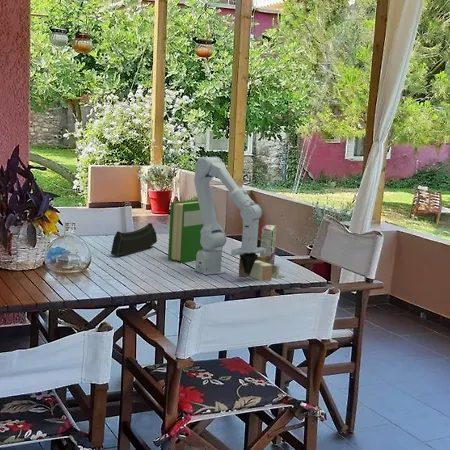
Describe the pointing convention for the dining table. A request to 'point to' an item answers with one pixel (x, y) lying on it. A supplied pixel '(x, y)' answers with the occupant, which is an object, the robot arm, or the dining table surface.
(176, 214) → the hardback book
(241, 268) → the shelf wall
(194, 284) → the dining table surface
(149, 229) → the magazine
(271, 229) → the candy bar box
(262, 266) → the boxed book
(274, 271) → the bookend
